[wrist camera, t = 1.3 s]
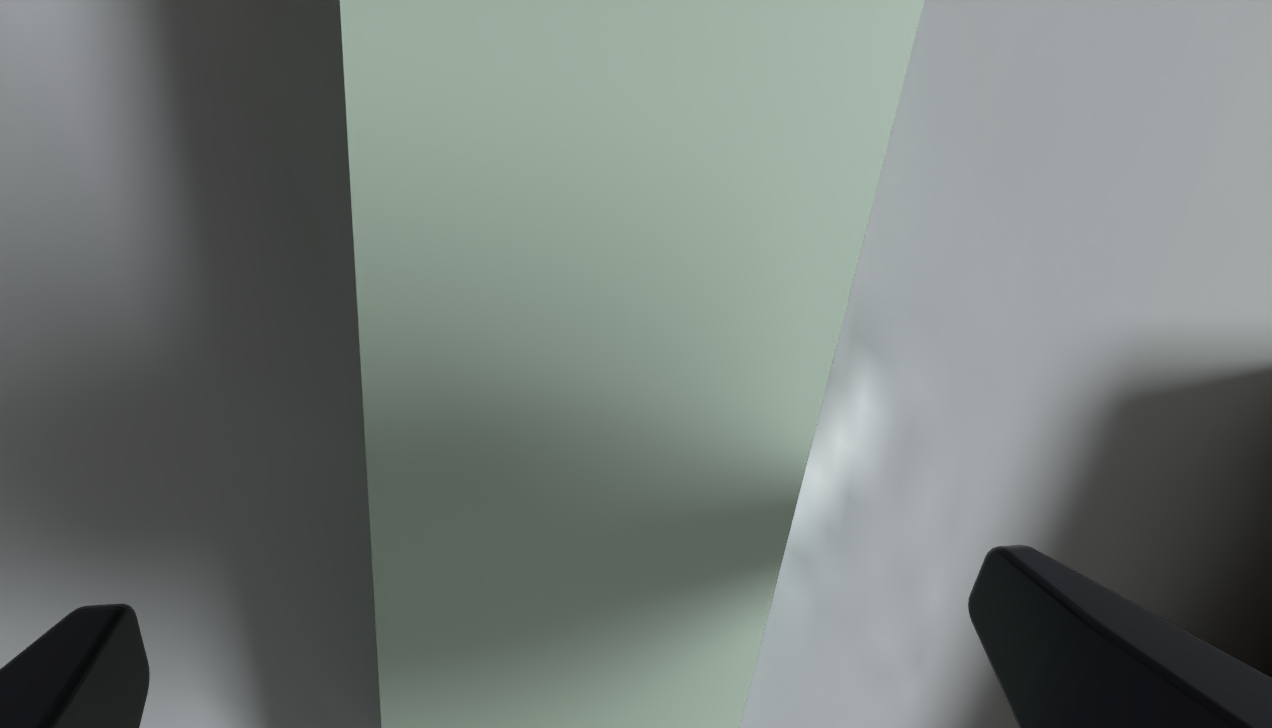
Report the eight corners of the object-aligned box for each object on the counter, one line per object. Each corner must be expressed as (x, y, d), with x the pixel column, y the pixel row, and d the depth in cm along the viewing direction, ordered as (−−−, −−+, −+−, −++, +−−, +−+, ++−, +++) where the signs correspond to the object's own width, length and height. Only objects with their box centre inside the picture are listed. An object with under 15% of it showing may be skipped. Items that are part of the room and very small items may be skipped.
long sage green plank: (676, 680, 15) (717, 814, 13) (397, 708, 14) (389, 861, 11) (812, -31, 9) (929, -17, 7) (363, -86, 8) (335, -90, 6)
